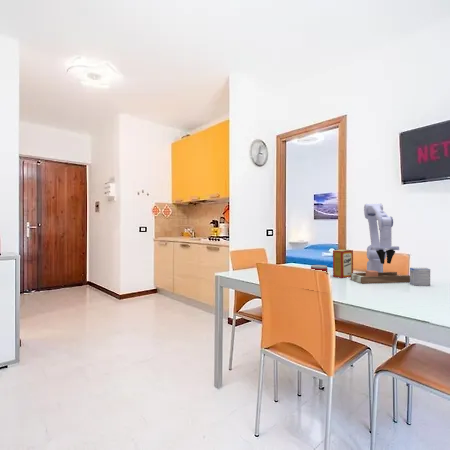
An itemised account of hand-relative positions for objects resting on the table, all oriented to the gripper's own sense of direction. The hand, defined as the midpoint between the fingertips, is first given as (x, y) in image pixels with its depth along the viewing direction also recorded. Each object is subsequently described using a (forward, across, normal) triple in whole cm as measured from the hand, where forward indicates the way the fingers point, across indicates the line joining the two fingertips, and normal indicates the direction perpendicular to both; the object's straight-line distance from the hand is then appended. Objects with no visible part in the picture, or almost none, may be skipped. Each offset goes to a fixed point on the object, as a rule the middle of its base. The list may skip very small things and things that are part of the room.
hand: (385, 263), depth 168 cm
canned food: (+10, -43, -13) cm, 46 cm away
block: (+7, -8, 0) cm, 11 cm away
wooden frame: (+9, -4, 0) cm, 10 cm away
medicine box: (+10, +10, -13) cm, 19 cm away
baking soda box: (+10, -17, +15) cm, 25 cm away
